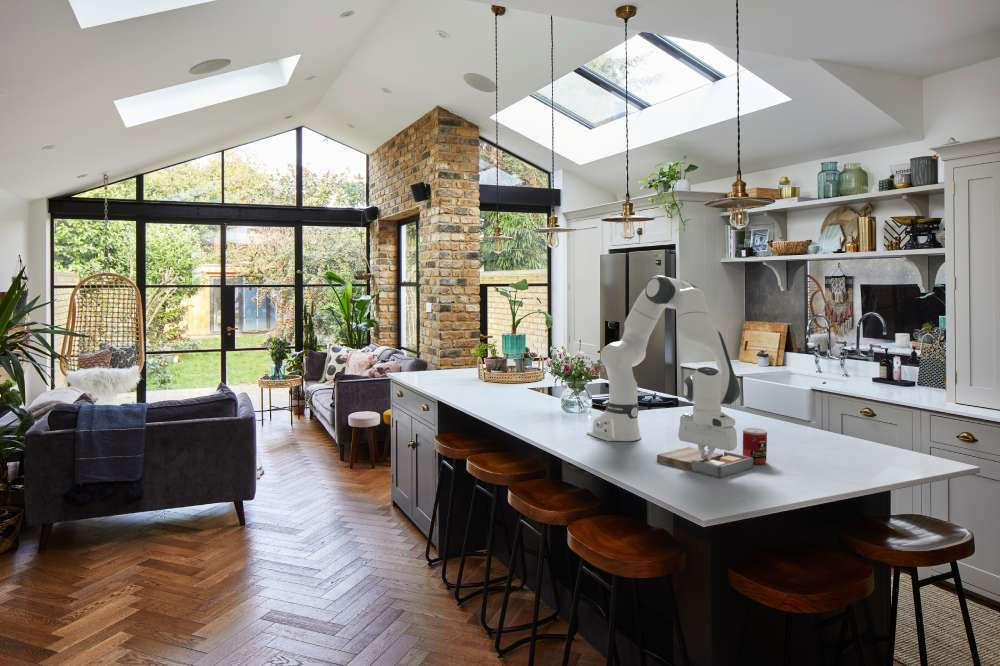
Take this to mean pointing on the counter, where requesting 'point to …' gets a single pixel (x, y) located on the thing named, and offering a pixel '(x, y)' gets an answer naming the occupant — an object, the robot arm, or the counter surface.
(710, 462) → the tile cream
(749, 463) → the tray
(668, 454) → the board
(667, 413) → the counter surface
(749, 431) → the canned food
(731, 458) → the tile terracotta
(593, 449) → the counter surface
